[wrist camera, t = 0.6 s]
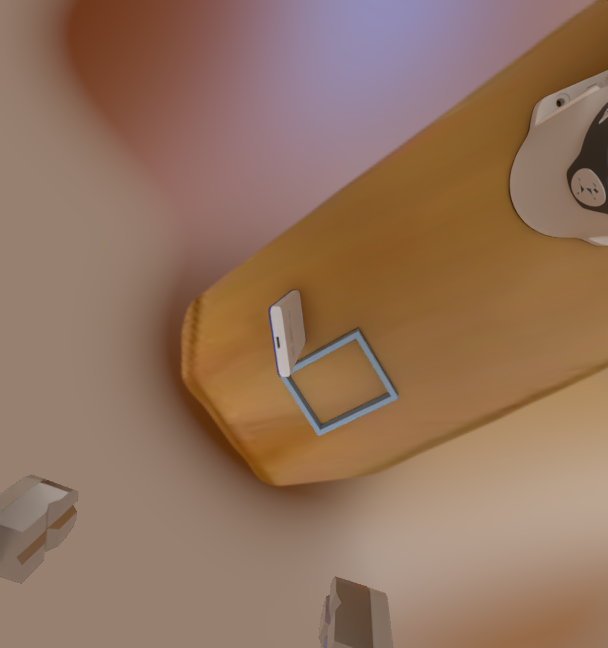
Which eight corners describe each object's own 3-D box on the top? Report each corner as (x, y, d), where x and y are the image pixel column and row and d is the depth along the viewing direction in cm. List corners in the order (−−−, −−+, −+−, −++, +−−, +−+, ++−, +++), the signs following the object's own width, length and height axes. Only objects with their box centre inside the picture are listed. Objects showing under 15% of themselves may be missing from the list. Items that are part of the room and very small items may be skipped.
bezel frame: (358, 328, 47) (358, 330, 45) (397, 393, 48) (398, 398, 47) (280, 370, 50) (278, 374, 49) (319, 430, 52) (318, 436, 50)
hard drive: (296, 344, 49) (277, 377, 37) (288, 290, 47) (266, 306, 35) (306, 344, 48) (291, 376, 37) (299, 289, 47) (281, 305, 35)
